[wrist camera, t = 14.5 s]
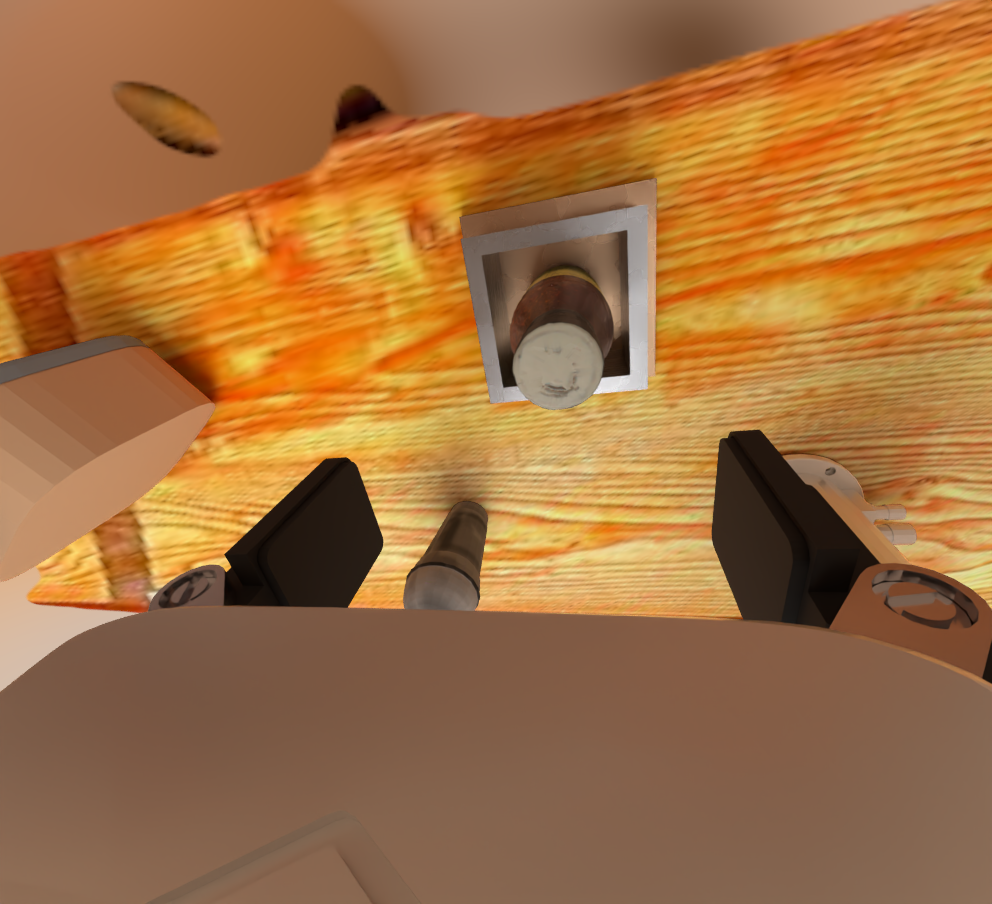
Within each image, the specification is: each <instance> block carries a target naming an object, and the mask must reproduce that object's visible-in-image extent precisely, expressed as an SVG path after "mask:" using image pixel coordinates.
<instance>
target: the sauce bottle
mask: <svg viewBox="0 0 992 904" xmlns="http://www.w3.org/2000/svg"><path fill="white" fill-rule="evenodd" d="M613 334H614V323H613V317H612V313H611V310H610V307H609V305H608V303H607V301H606V299H605V297H604V296H603V294H602V292H601V290H600V288H599V286H598V284H597V283H596V281H595V280H594V279H593V278H592V277H591V276H590V275H589V274H588V273H587V272H586V271H584V270H582V269H580V268H578V267H575V266H557V267H554V268H551V269H549V270H547V271H545V272H543V273H542V274H541V275H539V276H538V277H537V278H536V279H535V280H534V282H533V283H532V284H531V285H530V287H529V288H528V289H527V291H526V292H525V293H524V295H523V296H522V299H521V300H520V301H519V303H518V304H517V307H516V309H515V311H514V314H513V317H512V321H511V325H510V342H511V348H512V351H513V353H514V357H513V374H514V378H515V382H516V384H517V386H518V388H519V390H520V391H521V393H522V394H523V395H524V396H525V398H527V399H529V400H530V401H531V402H532V403H533V404H535V405H538V406H540V407H542V408H545V409H550V410H556V409H566V408H572V407H574V406H576V405H579V404H581V403H582V402H584V401H585V400H586V399H588V398H589V397H590V396H592V395H593V393H594V392H595V391H596V389H597V388H598V386H599V383H600V381H601V378H602V375H603V370H604V359H605V357H606V356H607V354H608V352H609V350H610V347H611V344H612V340H613Z"/></svg>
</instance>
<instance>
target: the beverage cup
mask: <svg viewBox="0 0 992 904" xmlns="http://www.w3.org/2000/svg"><path fill="white" fill-rule="evenodd" d="M487 522H488V516H487V513H486V511H485V510H484V509H483V508H482V507H481V506H480V505H478V504H477V503H474V502H470V501H463V502H459V503H457V504H456V505H455V506H454V507H453V508H452V510H451V512H450V513H449V514H448V516H447V517H446V519H445V520H444V522H443V524H442V526H441V527H440V529H439V531H438V532H437V534H436V536H435V537H434V539H433V541H432V542H431V544H430V546H429V547H428V549H427V551H426V552H425V554H424V556H423V557H422V558H421V559H420V560H419V561H418V563H417V564H416V565H415V567H414V568H413V569H411V571H410V572H409V574H408V575H407V579H406V584H405V589H404V597H403V603H404V608H405V609H421V610H463V611H475V609H476V607H477V606H478V603H479V600H480V593H479V591H480V578H479V576H480V570H481V564H482V558H483V552H484V545H485V539H486V533H487Z"/></svg>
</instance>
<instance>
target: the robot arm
mask: <svg viewBox="0 0 992 904" xmlns="http://www.w3.org/2000/svg"><path fill="white" fill-rule="evenodd" d="M905 517H906V510H905V508H904V506H903V505H901V504H892V505H881V506H873V505H872V504H871V503H867V502H866V501H865V499H864V494H863V489H862V487H861V486H860V484H859V482H858V480H857V479H856V478H855V477H854V476H853V475H852V474H851V473H850V472H849V471H848V470H847V469H846V468H844V467H843V466H842V465H841V464H839V463H837V462H835V461H833V460H831V459H828V458H825V457H821V456H817V455H809V454H791V455H783V456H782V455H781V454H780V453H779V452H778V451H777V449H776V448H775V447H774V446H773V445H772V444H771V442H770V441H769V440H768V439H767V438H766V436H765V435H764V434H763V433H762V432H761V431H760V430H748V431H733V432H730V433H729V436H728V438H722V439H721V440H720V443H719V453H718V464H717V476H716V488H715V500H714V511H713V523H712V541H713V545H714V548H715V551H716V553H717V556H718V558H719V561H720V563H721V566H722V568H723V570H724V573H725V575H726V578H727V580H728V583H729V585H730V588H731V590H732V593H733V595H734V598H735V600H736V603H737V605H738V608H739V610H740V612H741V615H742V617H743V620H742V619H725V618H707V617H686V616H652V615H617V614H583V613H547V612H505V611H463V610H421V609H379V608H348V606H349V604H350V603H351V601H352V599H353V598H354V596H355V594H356V593H357V591H358V589H359V587H360V586H361V584H362V582H363V581H364V579H365V577H366V576H367V574H368V572H369V571H370V569H371V567H372V566H373V564H374V562H375V561H376V559H377V557H378V556H379V554H380V552H381V550H382V548H383V537H382V534H381V531H380V528H379V526H378V523H377V520H376V517H375V515H374V512H373V509H372V506H371V503H370V501H369V498H368V495H367V492H366V490H365V487H364V484H363V481H362V479H361V476H360V473H359V470H358V467H357V465H356V464H355V463H354V462H351V461H350V460H349V459H348V458H346V457H345V458H330V459H325V460H324V461H323V462H322V463H320V464H319V465H318V466H317V467H316V468H315V469H314V470H313V471H312V472H311V473H310V474H309V475H308V476H307V477H306V478H305V479H304V480H303V481H301V482H300V483H299V484H298V485H297V486H296V487H295V488H294V489H293V490H292V491H291V492H290V493H289V494H288V495H287V496H286V497H285V498H284V499H282V500H281V501H280V502H279V503H278V504H277V505H276V506H275V507H274V508H273V509H272V510H271V511H270V512H269V513H268V514H267V515H266V516H264V517H263V518H262V519H261V520H260V521H259V522H258V523H257V524H256V525H255V526H254V527H253V528H252V529H251V530H250V531H249V532H248V533H247V534H245V535H244V536H243V537H242V538H241V539H240V540H239V541H238V542H237V543H236V544H235V545H234V546H233V547H232V548H231V549H230V550H229V551H228V552H226V553H225V554H224V555H225V556H226V558H227V560H228V561H229V563H230V565H231V568H230V569H229V570H228V571H227V572H225V570H224V568H223V567H221V566H219V565H206V566H201V567H198V568H195V569H192V570H190V571H188V572H186V573H183V574H181V575H179V576H178V577H176V578H175V579H173V580H172V581H170V582H169V583H167V584H166V585H165V586H164V587H163V588H161V589H160V590H159V591H158V593H157V594H156V595H155V596H154V597H153V599H152V601H151V603H150V606H149V610H148V612H144V613H139V614H135V615H131V616H127V617H124V618H120V619H117V620H114V621H111V622H108V623H105V624H102V625H100V626H97V627H95V628H92V629H90V630H87V631H85V632H83V633H81V634H79V635H77V636H75V637H73V638H71V639H70V640H68V641H66V642H65V643H63V644H62V645H61V646H59V647H58V648H56V649H55V650H54V651H52V652H51V653H49V654H48V655H47V656H45V657H44V658H43V659H42V660H40V661H39V662H38V663H36V664H35V665H34V666H33V667H31V668H30V669H29V670H27V671H26V672H25V673H24V674H23V675H21V676H20V677H19V678H17V679H16V680H15V681H13V682H12V683H11V684H10V685H8V686H7V687H6V688H5V689H3V690H2V691H1V692H0V904H992V610H991V608H990V607H989V605H988V604H987V602H986V601H985V600H984V599H983V598H981V597H980V596H979V595H978V594H977V593H975V592H974V591H973V590H972V589H970V588H969V587H967V586H965V585H963V584H962V583H960V582H958V581H957V580H955V579H953V578H950V577H948V576H946V575H943V574H941V573H938V572H936V571H933V570H930V569H926V568H922V567H918V566H914V565H912V564H911V563H910V562H909V561H908V560H907V559H906V558H905V556H904V555H903V554H902V553H901V552H900V551H899V550H898V549H897V548H896V547H895V546H894V545H912V544H914V543H915V542H916V539H917V534H916V531H915V529H914V528H913V526H912V525H910V524H909V523H902V524H883V525H874V521H875V520H878V519H884V520H902V519H905Z"/></svg>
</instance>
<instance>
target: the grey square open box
mask: <svg viewBox="0 0 992 904" xmlns="http://www.w3.org/2000/svg"><path fill="white" fill-rule="evenodd" d="M656 194H657V178H654V179H649V180H644V181H639V182H634V183H629V184H624V185H619V186H614V187H608V188H603V189H598V190H593V191H588V192H583V193H578V194H573V195H568V196H563V197H558V198H553V199H548V200H543V201H538V202H533V203H528V204H523V205H518V206H513V207H508V208H503V209H498V210H492V211H487V212H482V213H477V214H472V215H467V216H462V217H459V218H460V223H461V229H462V234H463V239H461V243H462V248H463V254H464V259H465V265H466V270H467V276H468V281H469V287H470V292H471V298H472V303H473V309H474V314H475V320H476V325H477V331H478V336H479V342H480V347H481V353H482V358H483V364H484V369H485V375H486V380H487V386H488V391H489V397H490V402H491V403H502V402H513V401H524V400H529V399H527V398H525V396H524V395H523V394H522V393H521V391H520V390H519V388H518V386H517V384H516V382H515V378H514V374H513V357H514V353H513V351H512V348H511V342H510V325H511V321H512V317H513V314H514V311H515V309H516V307H517V304H518V303H519V301H520V300H521V299H522V296H523V295H524V293H525V292H526V291H527V289H528V288H529V287H530V285H531V284H532V283H533V282H534V280H535V279H536V278H537V277H538V276H539V275H541V274H542V273H543V272H545V271H547V270H549V269H551V268H554V267H557V266H575V267H578V268H580V269H582V270H584V271H586V272H587V273H588V274H589V275H590V276H591V277H592V278H593V279H594V280H595V281H596V283H597V284H598V286H599V288H600V290H601V292H602V294H603V296H604V297H605V299H606V301H607V303H608V305H609V307H610V310H611V313H612V317H613V323H614V334H613V340H612V344H611V347H610V350H609V352H608V354H607V356H606V357H605V359H604V370H603V375H602V378H601V381H600V383H599V386H598V388H597V389H596V391H595V392H594V393H593V394H599V393H610V392H621V391H632V390H643V389H648V377H650V376H655V321H656Z"/></svg>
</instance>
